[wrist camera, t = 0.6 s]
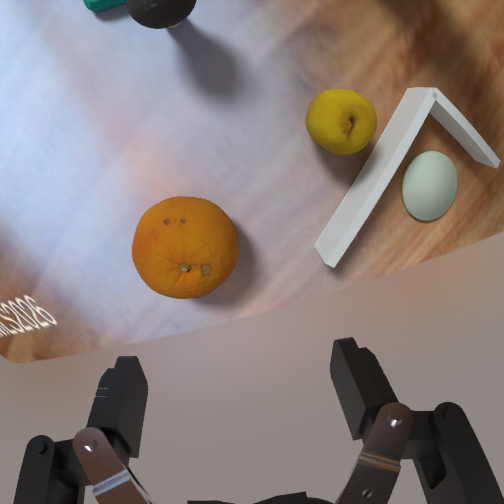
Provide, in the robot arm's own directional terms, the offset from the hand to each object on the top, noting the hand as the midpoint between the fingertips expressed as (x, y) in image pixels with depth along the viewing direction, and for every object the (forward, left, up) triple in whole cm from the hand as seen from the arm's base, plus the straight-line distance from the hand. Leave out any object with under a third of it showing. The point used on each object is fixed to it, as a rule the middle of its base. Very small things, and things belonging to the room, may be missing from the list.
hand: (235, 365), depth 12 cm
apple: (-13, +5, -24) cm, 28 cm away
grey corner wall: (-11, +19, -24) cm, 32 cm away
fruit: (+5, -2, -24) cm, 24 cm away
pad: (-14, +21, -24) cm, 35 cm away
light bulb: (-15, -14, -24) cm, 31 cm away
